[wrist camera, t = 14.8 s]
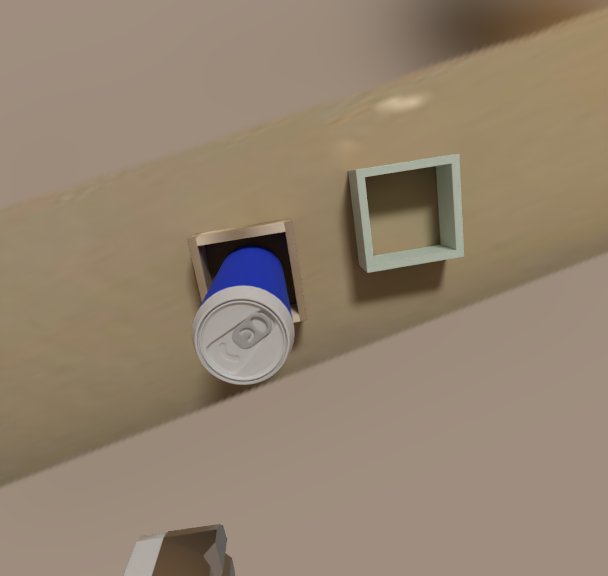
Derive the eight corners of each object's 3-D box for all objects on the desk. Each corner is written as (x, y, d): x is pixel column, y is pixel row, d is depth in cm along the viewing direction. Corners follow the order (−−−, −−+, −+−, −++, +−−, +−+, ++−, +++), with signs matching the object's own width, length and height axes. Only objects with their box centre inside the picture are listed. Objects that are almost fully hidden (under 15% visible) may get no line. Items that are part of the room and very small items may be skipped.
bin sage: (442, 156, 33) (458, 153, 30) (447, 250, 35) (464, 256, 32) (347, 170, 33) (355, 169, 30) (359, 265, 35) (367, 273, 32)
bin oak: (289, 218, 33) (292, 222, 30) (304, 308, 35) (307, 320, 33) (194, 234, 33) (187, 239, 30) (214, 324, 35) (209, 337, 32)
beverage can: (252, 315, 35) (242, 409, 21) (208, 273, 34) (165, 342, 19) (295, 274, 35) (317, 342, 20) (252, 230, 33) (242, 268, 19)
